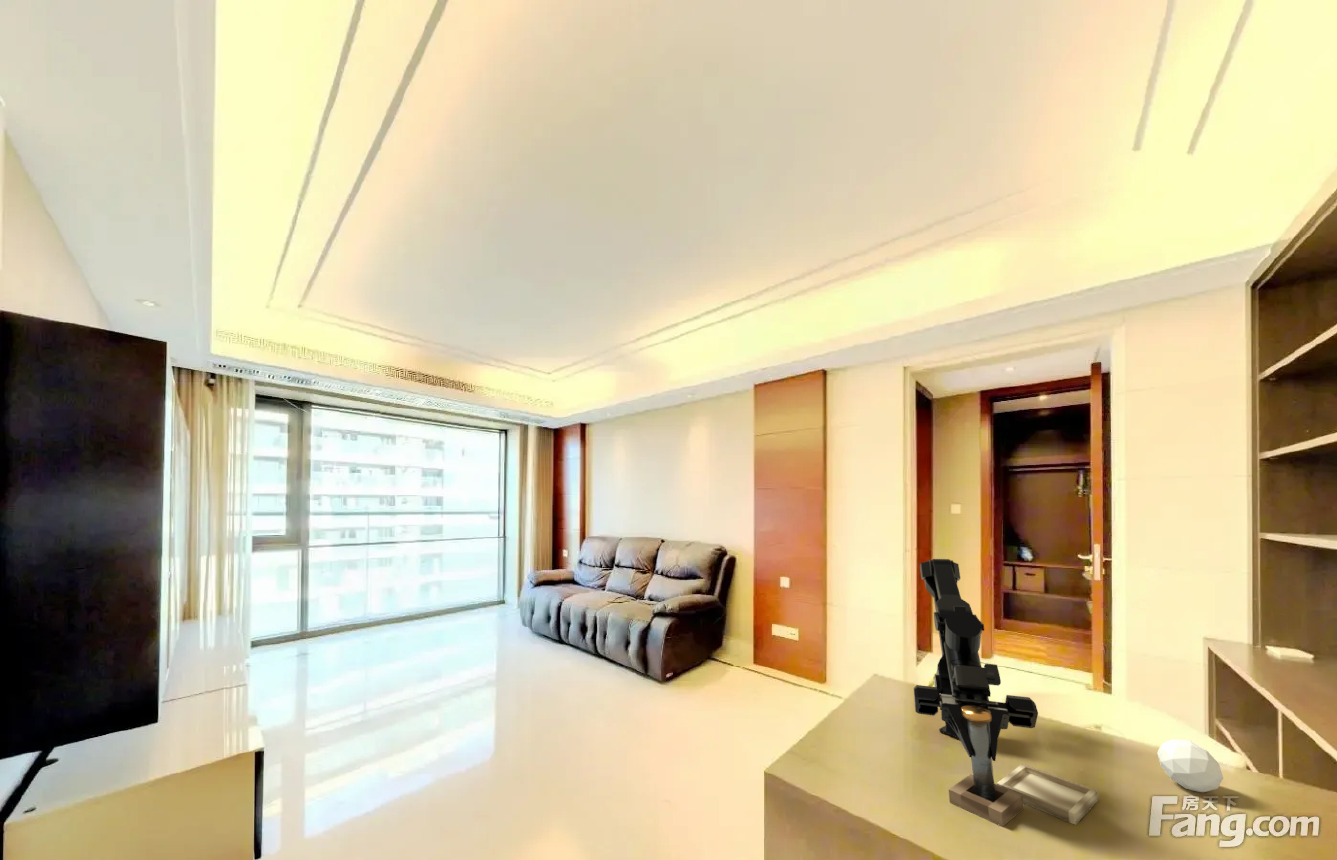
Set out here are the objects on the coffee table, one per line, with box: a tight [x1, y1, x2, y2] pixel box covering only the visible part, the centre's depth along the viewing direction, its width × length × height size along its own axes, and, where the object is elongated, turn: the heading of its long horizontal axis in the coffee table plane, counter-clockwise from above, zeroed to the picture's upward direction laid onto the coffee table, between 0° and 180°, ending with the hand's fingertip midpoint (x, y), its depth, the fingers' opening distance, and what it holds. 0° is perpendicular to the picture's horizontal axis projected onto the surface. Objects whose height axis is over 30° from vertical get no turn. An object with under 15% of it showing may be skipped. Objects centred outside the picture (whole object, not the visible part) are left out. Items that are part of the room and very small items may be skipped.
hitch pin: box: [961, 706, 996, 802], centre depth 83 cm, size 4×4×14 cm
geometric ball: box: [1157, 738, 1224, 793], centre depth 86 cm, size 8×8×8 cm
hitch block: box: [948, 774, 1025, 827], centre depth 82 cm, size 8×8×2 cm
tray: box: [996, 763, 1100, 826], centre depth 84 cm, size 11×11×2 cm
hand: (982, 758), depth 82 cm, fingers closed on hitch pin, 3 cm apart
